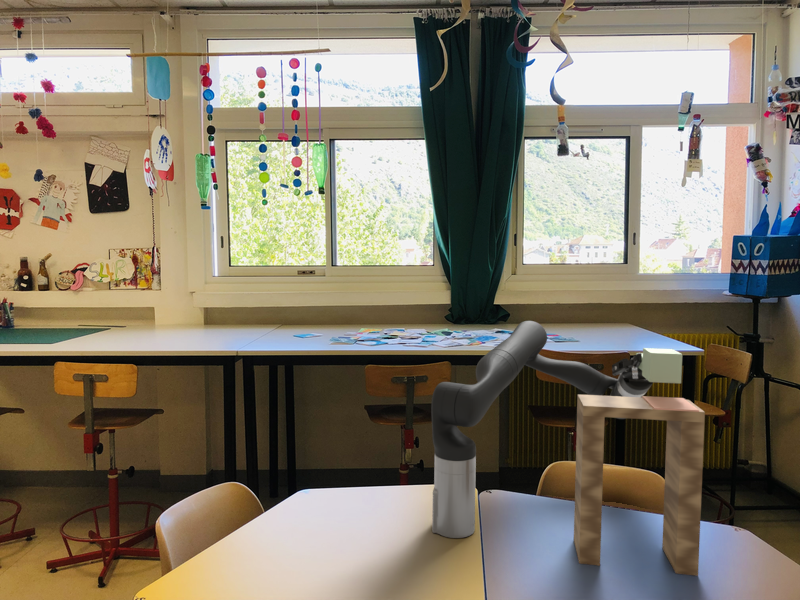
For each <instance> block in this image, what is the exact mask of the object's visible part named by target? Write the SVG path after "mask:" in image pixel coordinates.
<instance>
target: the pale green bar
mask: <svg viewBox="0 0 800 600" xmlns="http://www.w3.org/2000/svg"><path fill="white" fill-rule="evenodd" d="M638 353H639V352H636V353H635V355H637V354H638ZM640 353H641V354H642V362H641V364H640V365H639V367H638V368H639V369H641V370H642V376H643V377H645V378H646V379H647V380H648V381H649V382H653V383H660V384H662V383H664V384H682V377H683V376H682V372H683V354H682V353H681V352H679V351H678V350H675V349H674V348H652V347H651V348H650V347H643V348H642V352H640Z"/></svg>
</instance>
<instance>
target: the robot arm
mask: <svg viewBox="0 0 800 600" xmlns="http://www.w3.org/2000/svg"><path fill="white" fill-rule="evenodd" d="M547 342H548V334H547V331H546V329H545V327H544V326H543V325H542V324H540V323H539V322H537V321H533V320H525V321H521V322H520V323H519V324H518V325H517V326H516V328H514V330H513V331H512V333H510V335H509V336H508V337H507V338H505V339H504V340H503V341H501V342H500V343H499V344H497V345H495V346H494V347H493V348H492V349H490V351H488V353H486V354H485V355H484V356H482V357H481V358H480V360H479V361H478V362H477V365H476V368H475V378H476V381H477V382H476V383H474V384H465V383H458V382H457V383H456V382H452V381H451V382H450V381H441V382H440V383H437V384H436V386H435V388H434V391H433V393H432V397H431V429H432V430H431V431H432V434H431V435H432V444H433V447H434V448H433V449H434V469H433V470H434V473H433V474H434V478H433V479H434V480H433V482H434V483H433V485H434V486H433V490H432V520H431V521H432V523H431V524H432V525H431V526H432V527H431V528H432V530H431V532H432V533H434V534H438V535H441V536H442V537H446V538H449V539H450V538H451V539H462V538H467V537H469V536H471V535H473V534H474V533H475V530H476V529H475V527H476V526H475V524H476V518H475V517H476V475H477V474H476V470H477V467H476V466H477V463H476V462H477V460H476V459H477V447H476V443H475V441H474V440H473V439H471V438H470V437H469V436H467V435H466V434H464V433H463V432H462V431H461V430H460V428H458V427H463V428H470V427H471V428H472V427H474V426H476V425H477V424H479V422H481V420H482V419H483V418H484V416H485V415H486V413H487V412H488V410H489V409H490V407H491V406H492V405H493V403H494V402H495V400H496V399H497V398H498V396H499V395H501V393H502V392H504V389H506V388H507V387H508V386H509V385H510V384H511V383H512V382H513V381H514V380H515V379H516V377H517V376H518V375H519V373H520V372H521V371H522V369H523V368H524V366H526V367H529V368H532V369H533V370H536V371H538V372H541V373H544V374H546V375H549V376H551V377H555V378H556V379H559V380H561V381H564V382H566V383H567V384H569V385H571V386H573V387H575V388H577V389H578V390H580V391H582V392H583V393H584V394H586V395H601V396H604V394H605V393H606V391H607V390H608V389H611V392H610V395H609V396H621V397H642V396H645V395H646V393H647V392H648V391H649V390H650V388H651V387H652V385H653V384H654V382H649V381H648V380H647V379H646V378H645V377H643V376H642V370H641V369H639V368H638V367H639V365H640V364H641V362H642V354H641V353H642V352H637V353H638V354H637V355H636V354H634V355H633V357H631V358H630V359H628V358H626V357H625V358H622V359H620V360H619V361H617V362H615V363H613V364H612V365H611V371H612V376H618V378H615V377H611V376H609V375H606V374H604V373H602V372H600V371H598V370H596V369H595V368H593V367H592V366H590V365H588V364H586V363H583V362H580V361H574V360H573V361H572V360H562V359H553V358H549V357H545V356H543V355H541V354H540V353H541V351H542V350H543V349H544V347H545V346H546V345H547ZM617 419H618V420H625V419H626V420H627V418H617Z"/></svg>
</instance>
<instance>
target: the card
mask: <svg viewBox="0 0 800 600" xmlns="http://www.w3.org/2000/svg"><path fill="white" fill-rule="evenodd" d="M642 398H643V399H644V400H645V401H646V402H647V403H648V404H649V405H650V406H651V407H652V408H653V409H655V410H674V411H693V412H699V410H698V409H697V408H696V407H694V406H693V405H692V404H690V403H689V402H688V401H687V400H688V399H686V398H684V397H667V396H650V395H649V396H648V395H646V396H645V395H643V396H642Z"/></svg>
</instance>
